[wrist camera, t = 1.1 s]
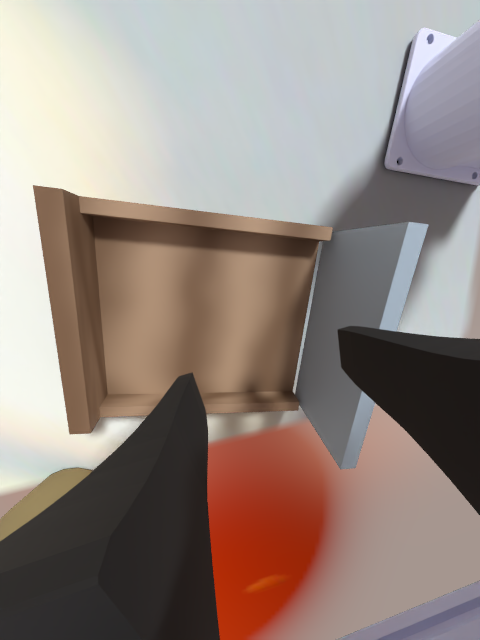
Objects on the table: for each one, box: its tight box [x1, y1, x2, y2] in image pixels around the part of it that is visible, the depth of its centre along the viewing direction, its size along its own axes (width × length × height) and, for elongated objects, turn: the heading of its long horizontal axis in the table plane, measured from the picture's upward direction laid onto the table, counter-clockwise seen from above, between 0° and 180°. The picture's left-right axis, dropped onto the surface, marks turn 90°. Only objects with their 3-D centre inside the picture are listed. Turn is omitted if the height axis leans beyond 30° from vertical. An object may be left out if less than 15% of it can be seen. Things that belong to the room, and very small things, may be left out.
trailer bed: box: [33, 185, 333, 434], centre depth 16 cm, size 16×14×5 cm
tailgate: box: [295, 222, 429, 469], centre depth 15 cm, size 1×14×7 cm, turn 174°
